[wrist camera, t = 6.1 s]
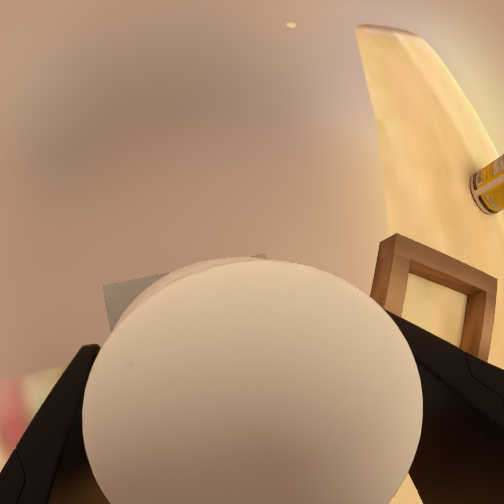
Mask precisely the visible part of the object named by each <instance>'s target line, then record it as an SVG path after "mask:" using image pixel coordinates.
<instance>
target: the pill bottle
mask: <svg viewBox="0 0 504 504" xmlns="http://www.w3.org/2000/svg"><path fill="white" fill-rule="evenodd" d="M422 417H423V398H422V389H421V381H420V376H419V373H418V369H417V365H416V362H415V360H414V357H413V354H412V352H411V349H410V347H409V345H408V343H407V341H406V339H405V338H404V336H403V334H402V333H401V331H400V330H399V328H398V326H397V325H396V324H395V322H394V321H393V320H392V318H391V317H390V316H389V315H388V314H387V313H386V312H385V311H384V309H383V308H382V307H381V306H380V305H379V304H378V303H377V302H375V301H374V300H373V299H372V298H371V297H370V296H368V295H367V294H366V293H364V292H363V291H361V290H360V289H359V288H357V287H356V286H354V285H352V284H350V283H349V282H347V281H345V280H343V279H341V278H339V277H337V276H335V275H333V274H331V273H329V272H326V271H323V270H320V269H317V268H314V267H311V266H308V265H303V264H299V263H294V262H287V261H279V260H267V259H262V258H255V257H226V258H216V259H209V260H203V261H200V262H196V263H193V264H190V265H187V266H184V267H181V268H179V269H177V270H175V271H173V272H171V273H169V274H167V275H165V276H164V277H162V278H160V279H159V280H157V281H156V282H154V283H153V284H152V285H150V286H149V287H148V288H146V289H145V290H144V291H143V292H142V293H140V294H139V295H138V296H137V297H136V298H135V299H134V300H133V302H132V303H131V304H130V305H129V306H128V307H127V309H126V310H125V311H124V312H123V314H122V315H121V317H120V318H119V320H118V322H117V323H116V325H115V327H114V329H113V331H112V333H111V334H110V335H109V337H108V338H107V340H106V341H105V343H104V345H103V346H102V348H101V349H100V351H99V353H98V355H97V357H96V359H95V362H94V364H93V366H92V369H91V372H90V374H89V378H88V381H87V385H86V388H85V394H84V402H83V410H82V426H83V438H84V445H85V449H86V453H87V457H88V460H89V463H90V466H91V469H92V472H93V475H94V477H95V479H96V481H97V483H98V485H99V487H100V489H101V490H102V492H103V493H104V495H105V496H106V498H107V499H108V501H109V502H110V504H388V503H389V502H390V500H391V499H392V498H393V496H394V495H395V494H396V492H397V490H398V489H399V487H400V486H401V484H402V482H403V481H404V479H405V477H406V475H407V473H408V471H409V469H410V467H411V464H412V462H413V459H414V456H415V453H416V450H417V447H418V443H419V439H420V435H421V427H422Z"/></svg>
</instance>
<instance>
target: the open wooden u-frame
mask: <svg viewBox="0 0 504 504" xmlns="http://www.w3.org/2000/svg"><path fill="white" fill-rule="evenodd" d="M408 273H412V274H415V275H417V276H420V277H422V278H425V279H428V280H430V281H433V282H435V283H438V284H441V285H443V286H446V287H448V288H451V289H453V290H456V291H458V292H461V293H463V294H466V295H468V300H467V308H466V315H465V322H464V329H463V335H462V341H461V346H460V349H462V350H463V351H466V352H468V353H470V354H472V355H474V356H476V357H478V358H480V359H482V360H484V361H486V362H487V361H488V355H489V350H490V344H491V337H492V330H493V323H494V314H495V305H496V293H497V279H496V278H494V277H492V276H490V275H488V274H486V273H484V272H482V271H480V270H478V269H476V268H473V267H471V266H469V265H467V264H465V263H463V262H461V261H459V260H456V259H454V258H452V257H450V256H448V255H446V254H443V253H441V252H439V251H437V250H434V249H432V248H430V247H428V246H425V245H423V244H421V243H419V242H416V241H414V240H412V239H409V238H407V237H405V236H402V235H400V234H397V233H396V234H394V235H392V236H391V237H389V238H387V239H385V240H383V241H381V242H380V245H379V251H378V257H377V263H376V268H375V274H374V279H373V284H372V289H371V294H370V297H371V298H372V299H373V300H374V301H375V302H377V303H378V304H379V305H380V306H381V307H382V308H384V309H386V310H388V311H390V312H391V313H393V314H395V315H397V316H399V317H401V314H402V309H403V304H404V298H405V292H406V286H407V280H408Z"/></svg>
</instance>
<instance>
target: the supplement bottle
mask: <svg viewBox="0 0 504 504" xmlns="http://www.w3.org/2000/svg"><path fill="white" fill-rule="evenodd" d="M471 191H472V194H473V197H474V199H475V201H476V203H477V204H478V206H479V207H480V209H481V210H482V211H484V212H485V213H487V214H495V213H497V212H499V211H501V210H503V209H504V154H503V155H502V156H501V157H499V158H498V159H496V160H495V161H493V162H492V163H490V164H489V165H487V166H486V167H484V168H483V169H482V170H480V171H479V172H477V173H476V174H474V175H473V177H472V179H471Z"/></svg>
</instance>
